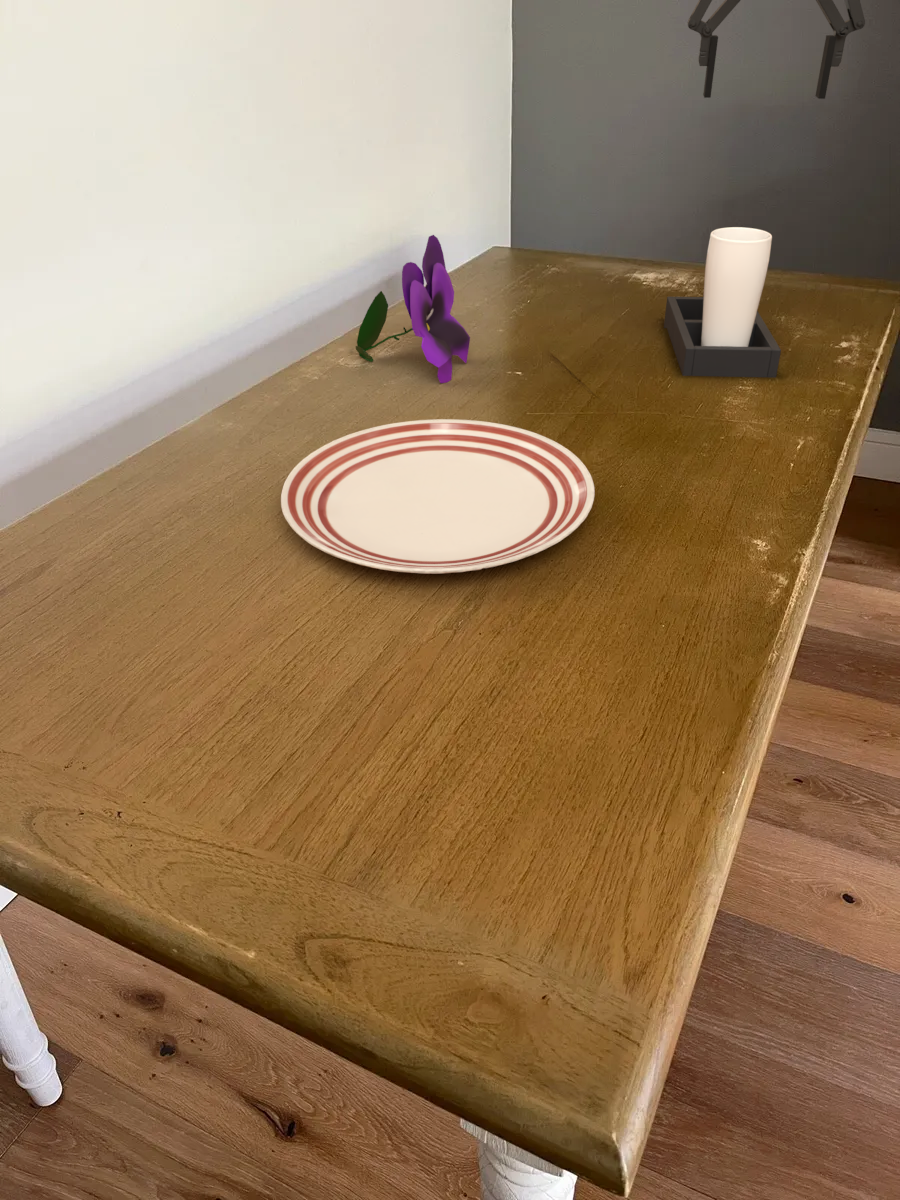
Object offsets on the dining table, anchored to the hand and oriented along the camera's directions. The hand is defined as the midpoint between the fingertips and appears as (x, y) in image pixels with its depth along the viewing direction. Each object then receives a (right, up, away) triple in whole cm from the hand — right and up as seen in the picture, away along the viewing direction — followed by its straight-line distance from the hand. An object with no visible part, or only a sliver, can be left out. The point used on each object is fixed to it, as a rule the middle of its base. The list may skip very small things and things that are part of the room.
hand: (762, 97), depth 119 cm
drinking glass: (-6, -35, -5) cm, 36 cm away
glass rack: (-6, -32, 0) cm, 33 cm away
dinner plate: (-40, -55, -33) cm, 75 cm away
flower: (-44, -34, -2) cm, 56 cm away
